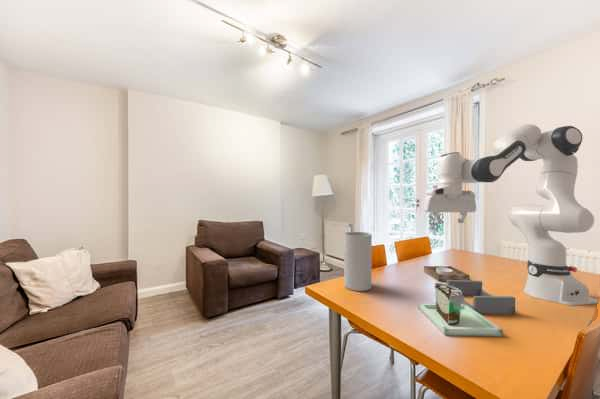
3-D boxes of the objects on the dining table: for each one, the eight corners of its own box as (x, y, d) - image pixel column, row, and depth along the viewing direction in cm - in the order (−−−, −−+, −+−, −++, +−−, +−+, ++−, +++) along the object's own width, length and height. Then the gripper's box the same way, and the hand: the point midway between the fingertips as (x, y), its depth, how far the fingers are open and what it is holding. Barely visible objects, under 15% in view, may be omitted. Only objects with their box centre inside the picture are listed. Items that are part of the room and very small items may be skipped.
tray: (465, 309, 88) (465, 304, 88) (502, 336, 71) (502, 329, 71) (418, 308, 89) (418, 303, 89) (444, 335, 72) (444, 328, 72)
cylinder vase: (357, 280, 120) (357, 231, 119) (377, 288, 109) (377, 234, 109) (338, 285, 113) (338, 233, 113) (358, 294, 102) (358, 236, 102)
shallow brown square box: (451, 272, 131) (451, 266, 131) (469, 282, 116) (469, 275, 116) (423, 272, 132) (424, 266, 132) (438, 281, 117) (438, 274, 117)
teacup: (449, 283, 116) (449, 273, 116) (429, 277, 124) (429, 268, 124) (459, 279, 121) (459, 270, 121) (439, 274, 130) (439, 265, 130)
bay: (479, 294, 102) (480, 280, 102) (515, 314, 84) (515, 297, 84) (446, 294, 102) (446, 280, 102) (475, 313, 85) (475, 297, 85)
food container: (471, 329, 73) (472, 297, 73) (450, 327, 74) (450, 296, 74) (452, 310, 86) (453, 283, 86) (434, 309, 87) (434, 282, 87)
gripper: (469, 190, 103) (469, 222, 103) (422, 190, 104) (421, 222, 104) (480, 190, 97) (479, 223, 97) (429, 190, 97) (429, 223, 98)
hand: (449, 223), depth 100 cm, fingers open, 8 cm apart
